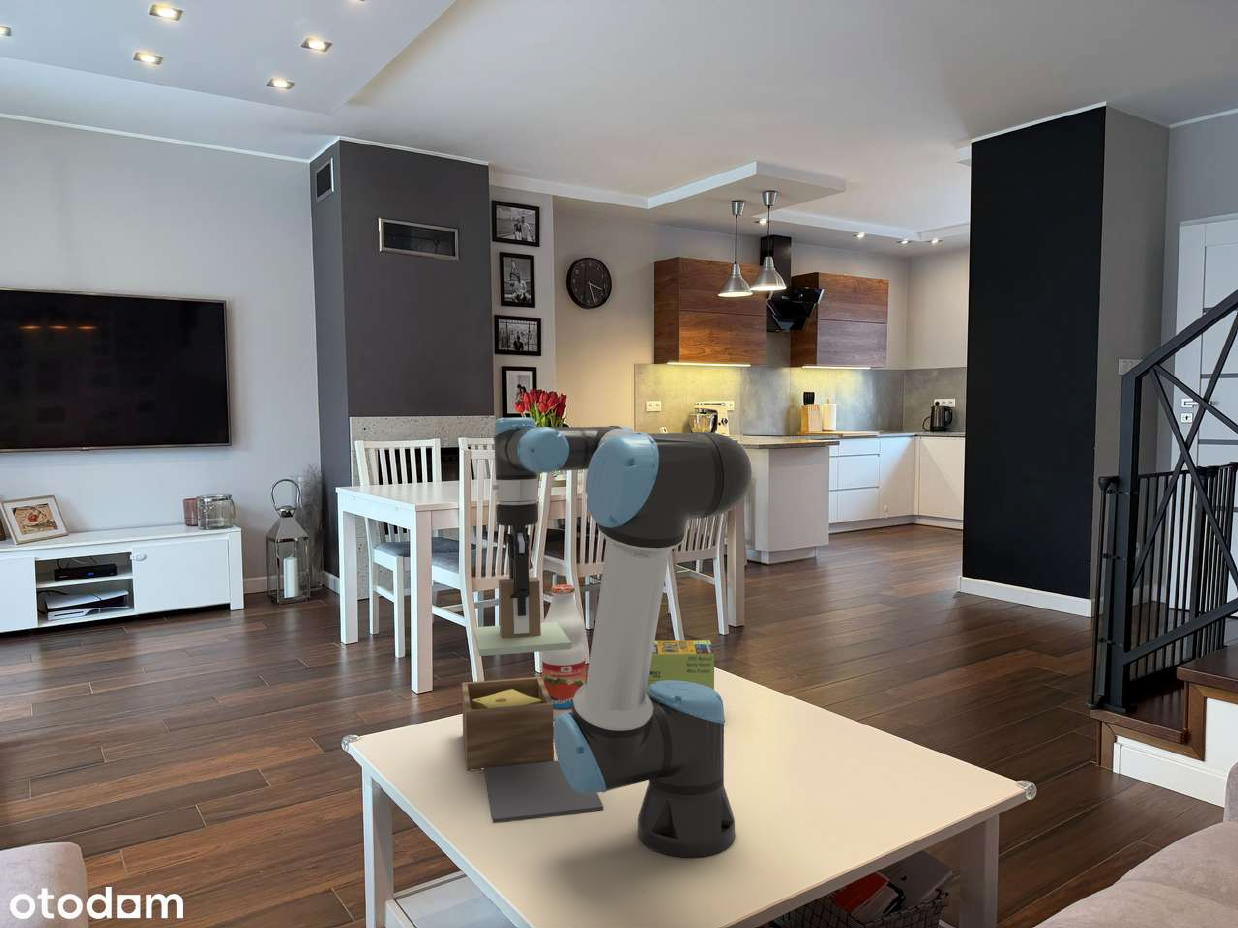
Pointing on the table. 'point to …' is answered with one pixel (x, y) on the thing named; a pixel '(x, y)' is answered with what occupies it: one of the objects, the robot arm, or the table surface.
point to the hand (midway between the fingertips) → (520, 629)
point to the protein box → (682, 662)
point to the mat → (534, 792)
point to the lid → (507, 642)
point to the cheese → (504, 700)
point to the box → (507, 725)
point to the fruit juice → (564, 652)
